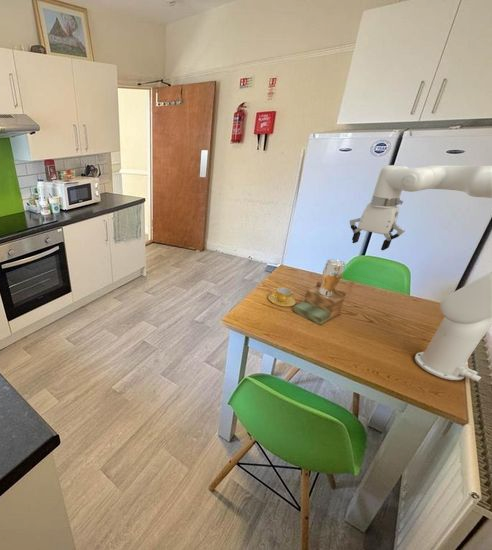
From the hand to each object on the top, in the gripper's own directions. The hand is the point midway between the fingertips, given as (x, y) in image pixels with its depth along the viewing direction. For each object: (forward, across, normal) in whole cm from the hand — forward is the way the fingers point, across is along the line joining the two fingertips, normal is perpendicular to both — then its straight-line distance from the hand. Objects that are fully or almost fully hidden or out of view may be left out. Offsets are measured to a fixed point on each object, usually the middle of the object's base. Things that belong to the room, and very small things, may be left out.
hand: (368, 245), depth 115 cm
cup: (+33, +23, +10) cm, 42 cm away
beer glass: (+24, +8, +3) cm, 26 cm away
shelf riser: (+33, +9, +6) cm, 35 cm away
